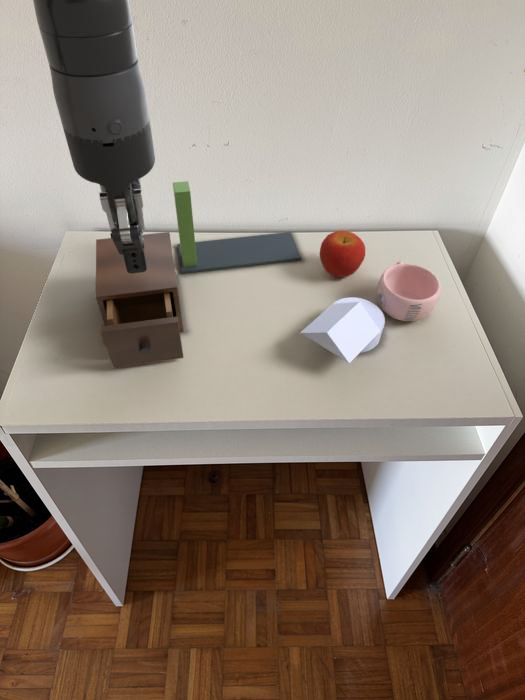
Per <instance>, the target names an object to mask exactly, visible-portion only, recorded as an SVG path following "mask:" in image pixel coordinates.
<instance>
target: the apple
mask: <svg viewBox="0 0 525 700" xmlns="http://www.w3.org/2000/svg"><path fill="white" fill-rule="evenodd" d="M365 257H366V244H365V243H364V241H363V240H362V238H361V237H359V236H358V235H357V234H356V233H354V232H351V231H349V230H336V231H333V232H331V233H329V234H327V235H326V237H325V238H324V239H323V241H322V242H321V243H320V248H319V259H320V261H321V264H322V266H323V268H324V271H325V272H326V273H328V274H329V275H330V276H333V277H337V278H346V277H347V278H349V276H352V275H353V274H355V273H356V272H357V271H358V270H359V269H360V267H361V265H362V263H363V262H364V260H365Z"/></svg>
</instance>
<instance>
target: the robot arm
mask: <svg viewBox="0 0 525 700" xmlns="http://www.w3.org/2000/svg"><path fill="white" fill-rule="evenodd" d="M32 1H33V2H32V3H33V8H34V12H35V17H36V21H37V26H38V29H39V33H40V36H41V40H42V44H43V48H44V52H45V55H46V59H47V62H48V66H49V71H50V76H51V83H52V91H53V96H54V100H55V104H56V107H57V112H58V115H59V119H60V122H61V127H62V129H63V133H64V136H65V141H66V144H67V147H68V151H69V155H70V158H71V162H72V166H73V168H74V170H75V172H76V174H77V175H78V176H79V177H81V178H82V179H83V180H85V181H87V182H89V183H93V184H96V185H99V188H100V192H98V193H99V201H100V204H101V205H100V206H101V208H102V211H103V212H104V213H105V214H106V218H107V222H108V226H109V229H110V238H111V239H113V242H114V244H115V246H116V248H117V250H118V252H119V254H120V255H122V254H123V256H124V260H125V265H126V269H127V272H128V273H131V274H132V273H140V272H145V271H146V270H147V266H146V259H145V253H144V244H143V243H144V238H143V239H142V235H144V231H145V219H144V211H143V210H144V209H143V208H144V199H143V193H142V191H143V190H142V183H141V179H142V178H144V177H145V176H146V175H148V174H149V173H150V172H151V171H152V170H153V168H154V166H155V162H156V154H155V149H154V147H155V146H154V142H153V141H154V139H153V134H152V128H151V120H150V119H151V118H150V113H149V106H148V98H147V92H146V86H145V81H144V77H143V74H142V71H141V67H140V63H139V58H138V51H137V50H138V49H137V42H136V35H135V28H134V23H133V22H134V21H133V17H132V11H131V5H130V0H32Z"/></svg>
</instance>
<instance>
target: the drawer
mask: <svg viewBox="0 0 525 700" xmlns="http://www.w3.org/2000/svg"><path fill="white" fill-rule="evenodd" d="M107 322H108V326H105V325H102V326H101V335H102V338H103V341H104V346H105V348H106V350H107V354H108V357H109V360H110V363H111V366H112V368H113V369H115V368H122V367H129V366H137V365H143V364H149V363H158V362H164V361H171V360H172V361H173V360H178V359H184V350H183V346H182V345H183V344H182V336H181V332H180V330H179V324H178V317H173V311H172V303H171V296H170V292H166V293H158V294H150V295H142V296H134V297H125V298H117V299H109V300H107Z"/></svg>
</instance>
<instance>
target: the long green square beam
mask: <svg viewBox="0 0 525 700" xmlns="http://www.w3.org/2000/svg"><path fill="white" fill-rule="evenodd" d="M172 188H173V189H172V190H173V197H174V205H175V213H176V222H177V229H178V238H179V244H180V247H181V255H182V261H183V267H188V266H197V257H196V246H195V242H196V238H195V225H194V215H193V205H192V197H191V195H192V193H191V188H190V183H189V181H187V180H186V181H176V182H174V181H173V182H172Z"/></svg>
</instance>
